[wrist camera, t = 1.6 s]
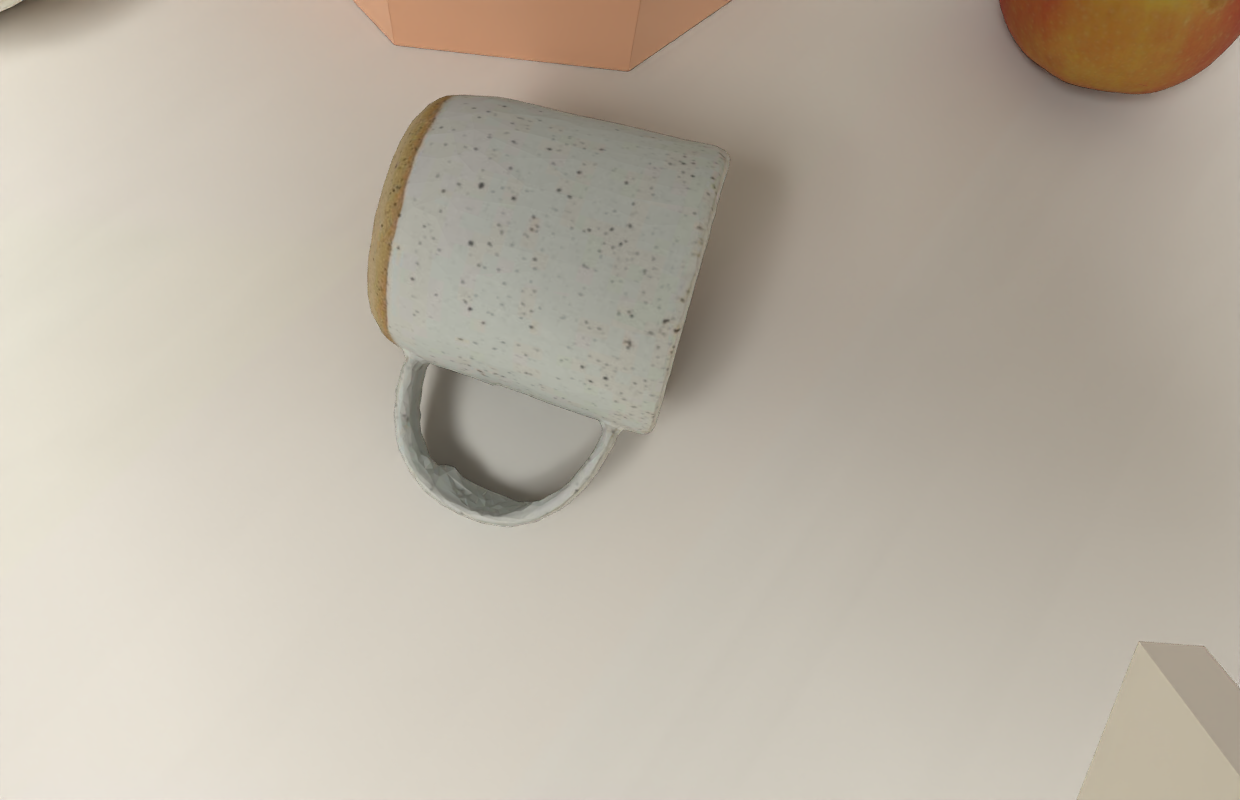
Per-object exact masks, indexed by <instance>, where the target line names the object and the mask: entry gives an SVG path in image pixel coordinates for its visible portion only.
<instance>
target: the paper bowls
mask: <svg viewBox="0 0 1240 800" xmlns="http://www.w3.org/2000/svg"><path fill="white" fill-rule="evenodd" d="M21 1H23V0H0V12H1V11H3V10H5V9H8V8H10V7H12V6H14V5H16V4H18V3H19V2H21Z"/></svg>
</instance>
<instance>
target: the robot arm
mask: <svg viewBox="0 0 1240 800" xmlns="http://www.w3.org/2000/svg"><path fill="white" fill-rule="evenodd" d="M1077 800H1240V689H1239V687H1238V686H1237V685H1236V684H1235V683H1234V681H1233V680H1232V679H1231V678H1230V677H1229V675H1228V674H1227V673H1226V672H1225V671H1224V669H1223V668H1222V667H1221V666H1220V665H1219V663H1218V662H1217V661H1216V660H1215V659H1214V657H1213V656H1212V655H1211V654H1210V653H1209V651H1208V650H1207V649H1206V648H1205V647H1204V646H1194V645H1181V644H1168V643H1154V642H1141V641H1139V642H1138V645H1137V647H1136V650H1135V652H1134V655H1133V657H1132V660H1131V663H1130V665H1129V668H1128V670H1127V673H1126V675H1125V678H1124V680H1123V683H1122V685H1121V688H1120V691H1119V693H1118V696H1117V698H1116V701H1115V703H1114V706H1113V708H1112V711H1111V713H1110V716H1109V719H1108V721H1107V724H1106V726H1105V729H1104V731H1103V734H1102V736H1101V739H1100V741H1099V744H1098V747H1097V749H1096V752H1095V754H1094V757H1093V759H1092V762H1091V764H1090V767H1089V769H1088V772H1087V775H1086V777H1085V780H1084V782H1083V785H1082V787H1081V790H1080V792H1079V795H1078V797H1077Z"/></svg>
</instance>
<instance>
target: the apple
mask: <svg viewBox="0 0 1240 800" xmlns="http://www.w3.org/2000/svg"><path fill="white" fill-rule="evenodd" d="M999 2H1000V6H1001V10H1002V13H1003V16H1004V19H1005V22H1006V24H1007V27H1008V29H1009V31H1010V33H1011V35H1012V36H1013V38H1014V39H1015V41H1016V42H1017V44H1018V45H1019V47H1020V48H1021V50H1022V51H1023V52H1024V53H1025V54H1026V55H1027V56H1028V57H1029V58H1030V59H1031V60H1033V61H1034V62H1035V63H1037V64H1038V65H1039V66H1041V67H1042V68H1044V69H1045V70H1047V71H1048V72H1049V73H1051V74H1052V75H1054V76H1056V77H1057V78H1059V79H1061V80H1062V81H1065V82H1067V83H1070V84H1073V85H1076V86H1081V87H1086V88H1091V89H1095V90H1102V91H1108V92H1119V93H1126V94H1146V93H1152V92H1157V91H1160V90H1164V89H1166V88H1169V87H1172V86H1175V85H1177V84H1179V83H1181V82H1183V81H1185V80H1187V79H1189V78H1191V77H1192V76H1194V75H1196V74H1197V73H1199V72H1200V71H1202V70H1203V69H1205V68H1206V67H1208V66H1209V65H1210V64H1211V63H1212V62H1213V61H1215V60H1216V59H1217V58H1218V57H1219V56H1220V55H1221V54H1222V53H1223V52H1224V51H1225V50H1226V49H1227V48H1228V47H1229V46H1230V45H1231V44H1232V43H1233V42H1234V41H1235V40H1236V38H1237V37H1238V36H1239V35H1240V0H999Z"/></svg>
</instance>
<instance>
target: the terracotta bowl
mask: <svg viewBox="0 0 1240 800" xmlns="http://www.w3.org/2000/svg"><path fill="white" fill-rule="evenodd" d="M353 1H354V2H355V3H356V4H357V5H358V6H359V7H360V8H361V10H362V11H363V12H364V13H365V14H366V15H367V16H368V17H369V18H370V19H371V20H372V21H373V22H374V23H375V24H376V26H377V27H378V28H379V29H380V30H381V31H382V32H383V33H384V34H385V35H386V36H387V37H388V38H389V39H390V41H391V42H392V43H393V44H394V45H399V46H408V47H416V48H425V49H434V50H443V51H452V52H461V53H470V54H479V55H487V56H496V57H505V58H514V59H523V60H532V61H541V62H550V63H559V64H567V65H576V66H585V67H594V68H603V69H612V70H621V71H630V70H631V69H633V68H634V67H635V66H637V65H638V64H640V63H641V62H643V61H644V60H646V59H647V58H649V57H650V56H651V55H653V54H654V53H656V52H657V51H659V50H660V49H662V48H663V47H665V46H666V45H667V44H669V43H670V42H672V41H673V40H675V39H676V38H678V37H679V36H680V35H682V34H683V33H685V32H686V31H688V30H689V29H691V28H692V27H694V26H695V25H696V24H698V23H699V22H701V21H702V20H704V19H705V18H707V17H708V16H710V15H711V14H712V13H714V12H715V11H717V10H718V9H720V8H721V7H723V6H724V5H725V4H727V3H728V2H730V1H731V0H353Z"/></svg>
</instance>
